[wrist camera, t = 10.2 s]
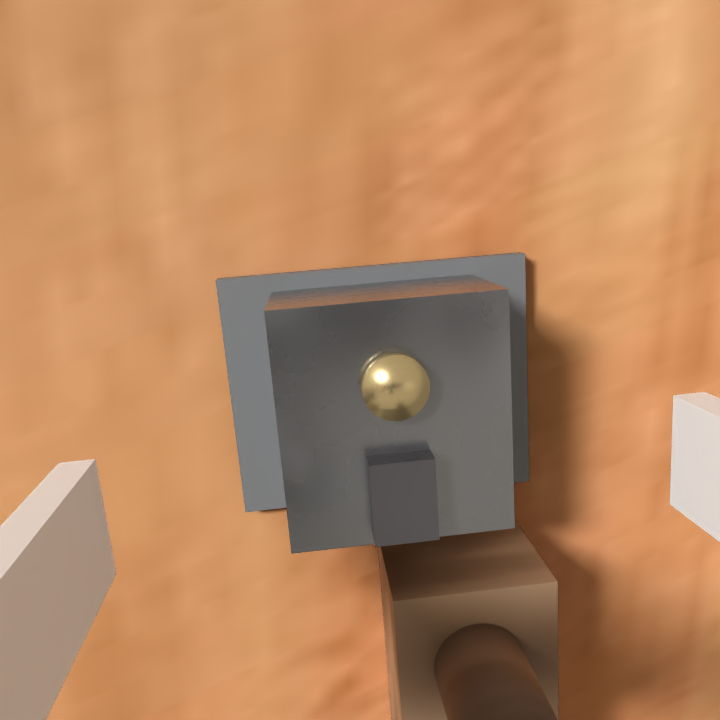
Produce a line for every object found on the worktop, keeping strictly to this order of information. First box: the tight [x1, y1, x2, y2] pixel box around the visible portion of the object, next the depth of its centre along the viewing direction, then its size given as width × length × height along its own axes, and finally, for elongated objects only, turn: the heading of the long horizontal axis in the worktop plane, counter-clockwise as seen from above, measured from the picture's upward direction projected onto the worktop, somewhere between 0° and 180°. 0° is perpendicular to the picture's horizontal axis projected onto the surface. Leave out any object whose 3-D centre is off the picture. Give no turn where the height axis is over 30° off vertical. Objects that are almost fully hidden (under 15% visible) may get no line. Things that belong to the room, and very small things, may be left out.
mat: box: [216, 252, 529, 512], centre depth 22 cm, size 10×8×1 cm
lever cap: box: [264, 274, 515, 553], centre depth 20 cm, size 7×6×5 cm
